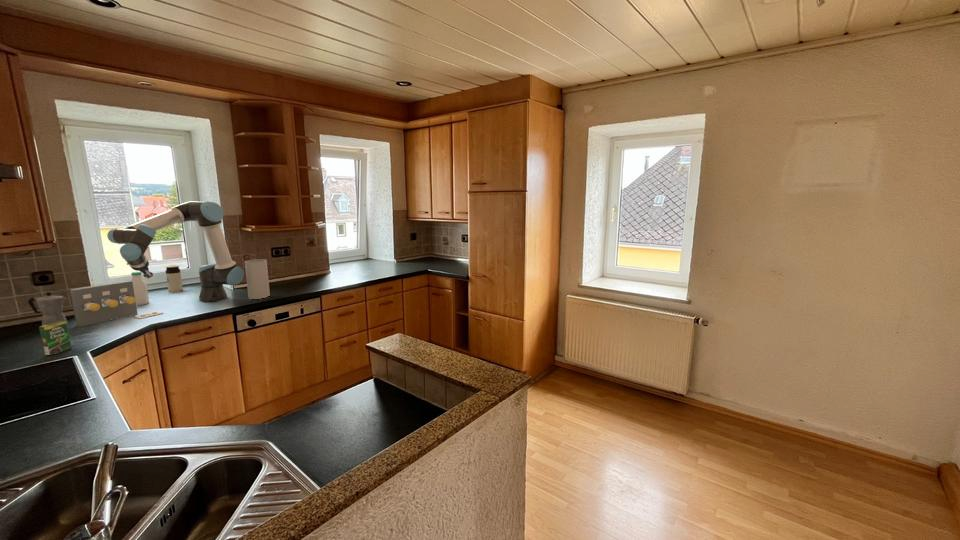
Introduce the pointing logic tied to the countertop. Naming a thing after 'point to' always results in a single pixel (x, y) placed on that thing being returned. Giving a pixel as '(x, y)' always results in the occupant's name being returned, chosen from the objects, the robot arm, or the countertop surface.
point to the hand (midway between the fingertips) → (149, 276)
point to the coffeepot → (49, 308)
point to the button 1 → (91, 306)
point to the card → (148, 314)
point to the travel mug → (173, 278)
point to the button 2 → (127, 299)
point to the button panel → (95, 296)
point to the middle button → (110, 303)
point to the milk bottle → (139, 289)
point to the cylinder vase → (257, 278)
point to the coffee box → (55, 337)
